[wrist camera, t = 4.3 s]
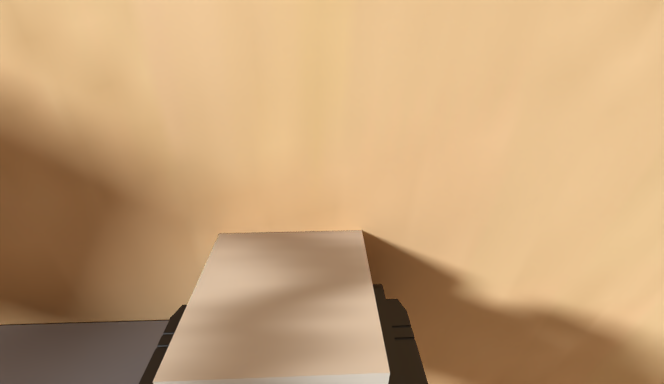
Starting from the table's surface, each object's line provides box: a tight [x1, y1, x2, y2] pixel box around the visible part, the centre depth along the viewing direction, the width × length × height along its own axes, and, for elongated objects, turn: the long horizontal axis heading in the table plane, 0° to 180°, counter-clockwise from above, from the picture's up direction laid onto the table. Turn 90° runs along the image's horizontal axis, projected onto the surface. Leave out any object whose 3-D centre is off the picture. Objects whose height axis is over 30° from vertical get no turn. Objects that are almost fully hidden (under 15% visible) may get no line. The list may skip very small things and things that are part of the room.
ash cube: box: [153, 230, 390, 384], centre depth 10 cm, size 5×5×5 cm
